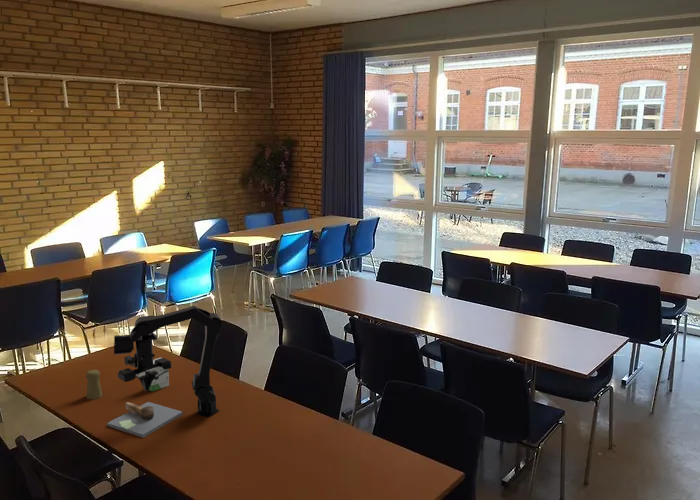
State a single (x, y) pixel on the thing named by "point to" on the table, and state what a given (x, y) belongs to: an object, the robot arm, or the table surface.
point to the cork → (93, 385)
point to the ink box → (160, 379)
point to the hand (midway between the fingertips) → (146, 390)
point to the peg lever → (141, 410)
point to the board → (145, 420)
